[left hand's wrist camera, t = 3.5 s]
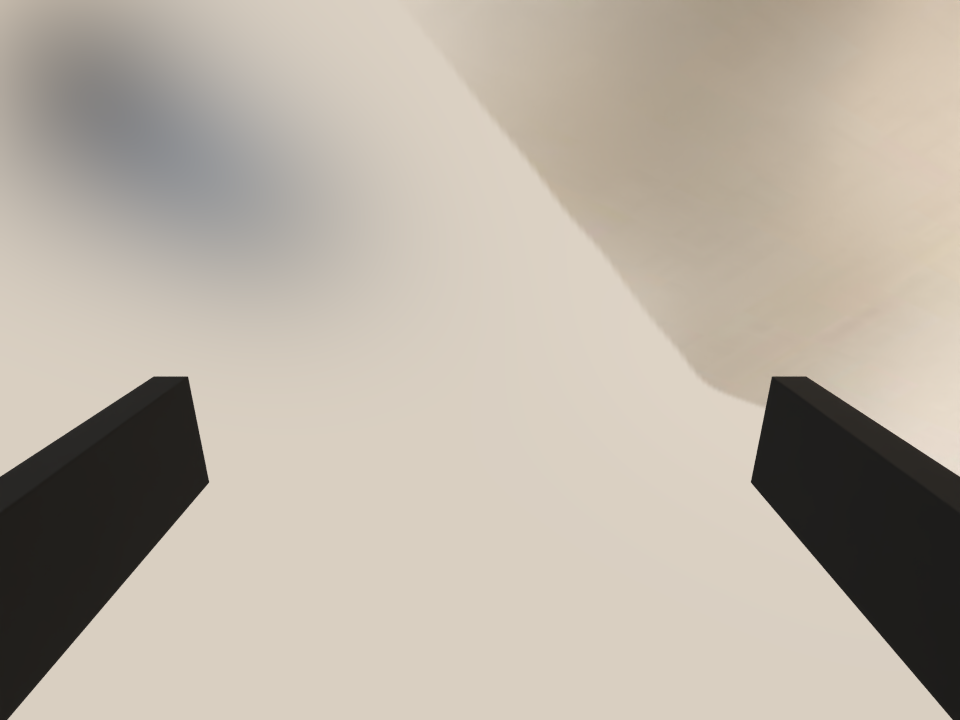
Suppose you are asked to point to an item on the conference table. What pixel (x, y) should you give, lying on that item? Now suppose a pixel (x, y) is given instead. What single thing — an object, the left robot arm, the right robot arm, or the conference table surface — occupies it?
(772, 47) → the conference table surface
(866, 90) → the conference table surface
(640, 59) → the conference table surface
